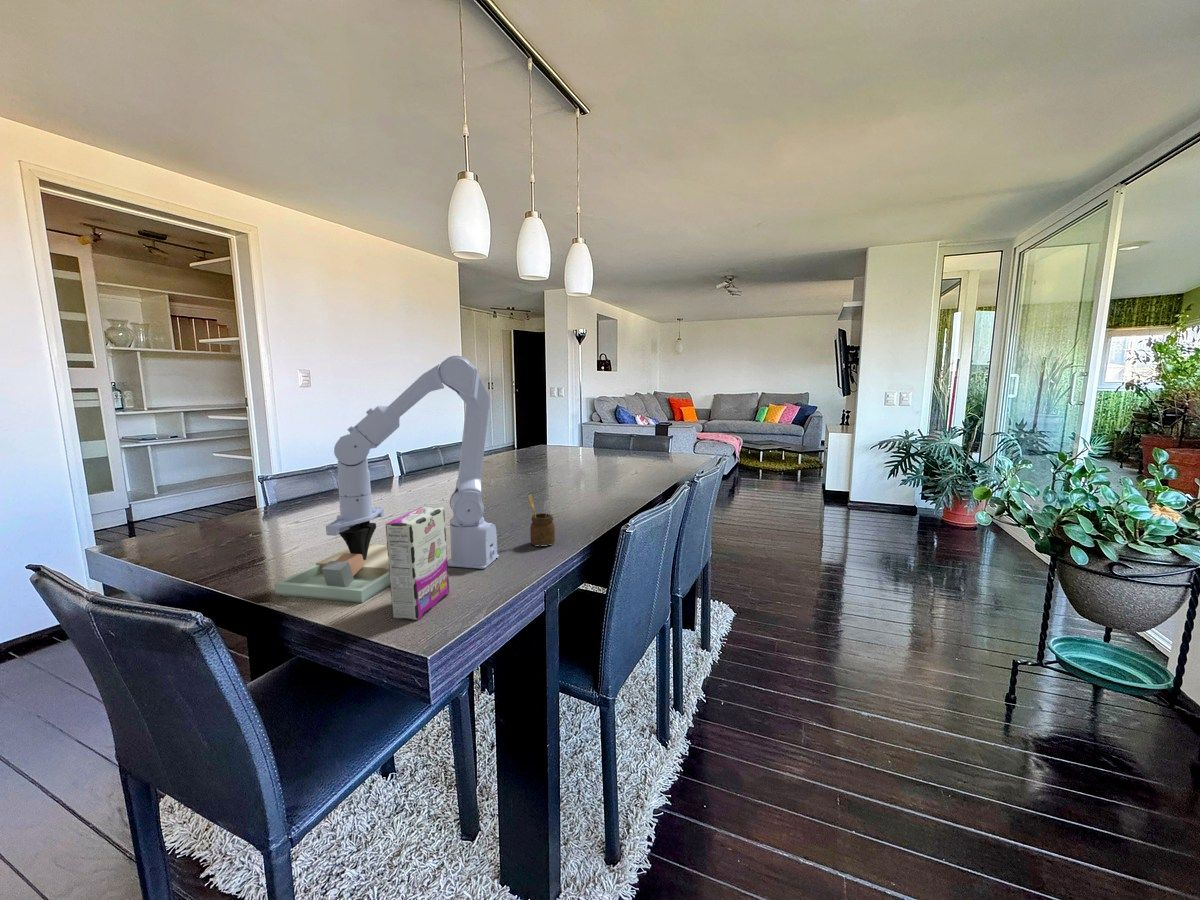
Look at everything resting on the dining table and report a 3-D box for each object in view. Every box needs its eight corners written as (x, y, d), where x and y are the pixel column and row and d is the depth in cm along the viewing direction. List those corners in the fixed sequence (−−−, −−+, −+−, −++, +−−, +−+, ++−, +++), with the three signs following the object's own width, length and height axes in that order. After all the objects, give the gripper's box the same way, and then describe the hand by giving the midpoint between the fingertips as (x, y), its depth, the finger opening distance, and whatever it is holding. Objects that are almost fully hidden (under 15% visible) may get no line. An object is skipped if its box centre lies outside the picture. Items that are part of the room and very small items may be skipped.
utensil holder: (550, 548, 116) (549, 498, 115) (525, 546, 118) (524, 497, 116) (558, 540, 122) (557, 493, 120) (534, 539, 123) (533, 492, 122)
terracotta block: (364, 564, 98) (361, 554, 97) (352, 577, 95) (348, 566, 94) (347, 563, 99) (344, 552, 98) (334, 575, 96) (330, 565, 95)
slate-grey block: (348, 562, 93) (340, 570, 91) (354, 579, 95) (345, 587, 93) (330, 560, 94) (321, 568, 92) (336, 578, 96) (327, 586, 93)
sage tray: (396, 581, 97) (395, 570, 96) (362, 602, 87) (361, 591, 87) (316, 574, 100) (315, 564, 100) (275, 595, 90) (274, 583, 90)
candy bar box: (425, 591, 92) (420, 505, 90) (450, 593, 91) (446, 506, 89) (389, 619, 81) (383, 522, 79) (417, 621, 80) (412, 523, 78)
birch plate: (431, 559, 109) (430, 548, 109) (396, 581, 97) (395, 569, 96) (359, 554, 113) (358, 543, 113) (316, 574, 100) (315, 563, 100)
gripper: (361, 486, 106) (365, 547, 107) (309, 501, 92) (315, 571, 93) (391, 487, 104) (394, 549, 106) (342, 503, 90) (348, 574, 92)
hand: (359, 560), depth 100 cm, fingers closed
